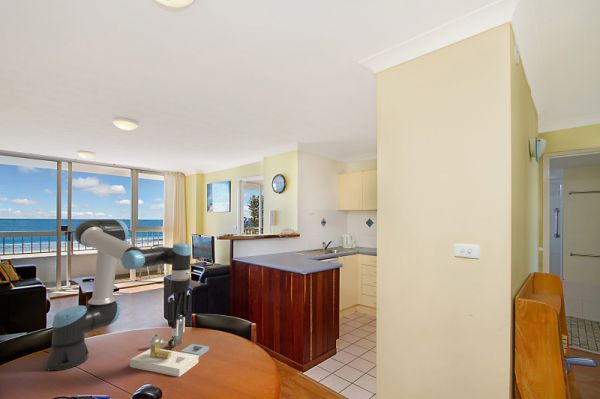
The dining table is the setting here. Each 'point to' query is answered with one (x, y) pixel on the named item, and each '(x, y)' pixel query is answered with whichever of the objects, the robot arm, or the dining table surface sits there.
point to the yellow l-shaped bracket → (159, 351)
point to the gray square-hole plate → (200, 348)
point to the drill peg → (179, 331)
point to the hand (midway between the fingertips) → (178, 333)
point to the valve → (162, 341)
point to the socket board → (165, 362)
